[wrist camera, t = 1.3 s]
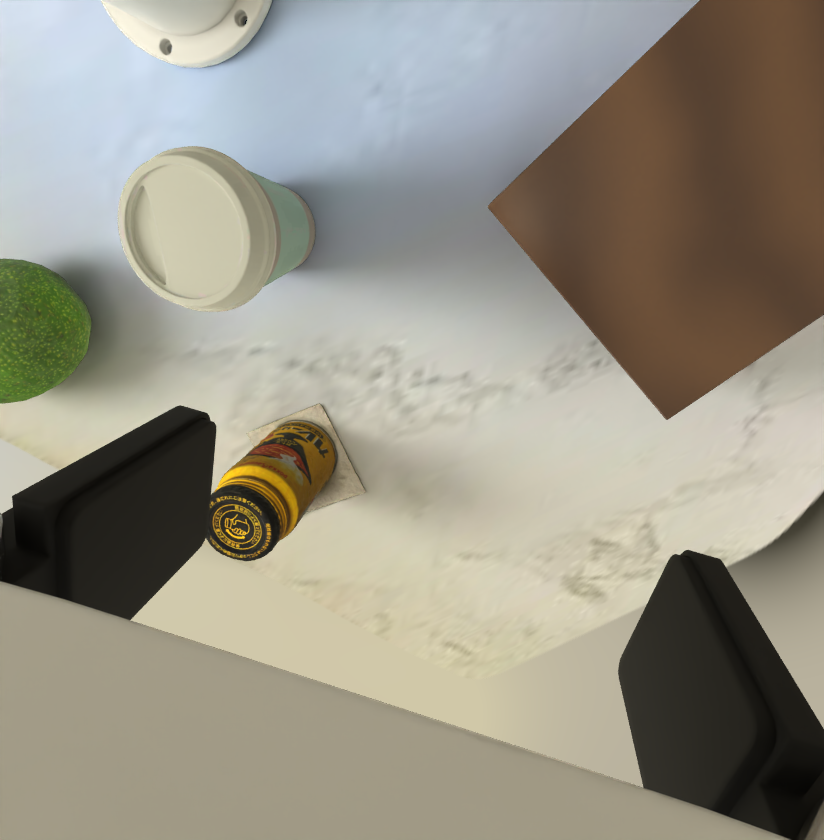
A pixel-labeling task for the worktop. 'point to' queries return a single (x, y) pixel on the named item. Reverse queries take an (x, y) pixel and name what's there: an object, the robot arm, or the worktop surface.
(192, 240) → the coffee cup
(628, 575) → the worktop surface
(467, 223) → the worktop surface
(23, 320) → the fruit
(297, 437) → the condiment
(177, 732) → the robot arm
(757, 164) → the cabinet
